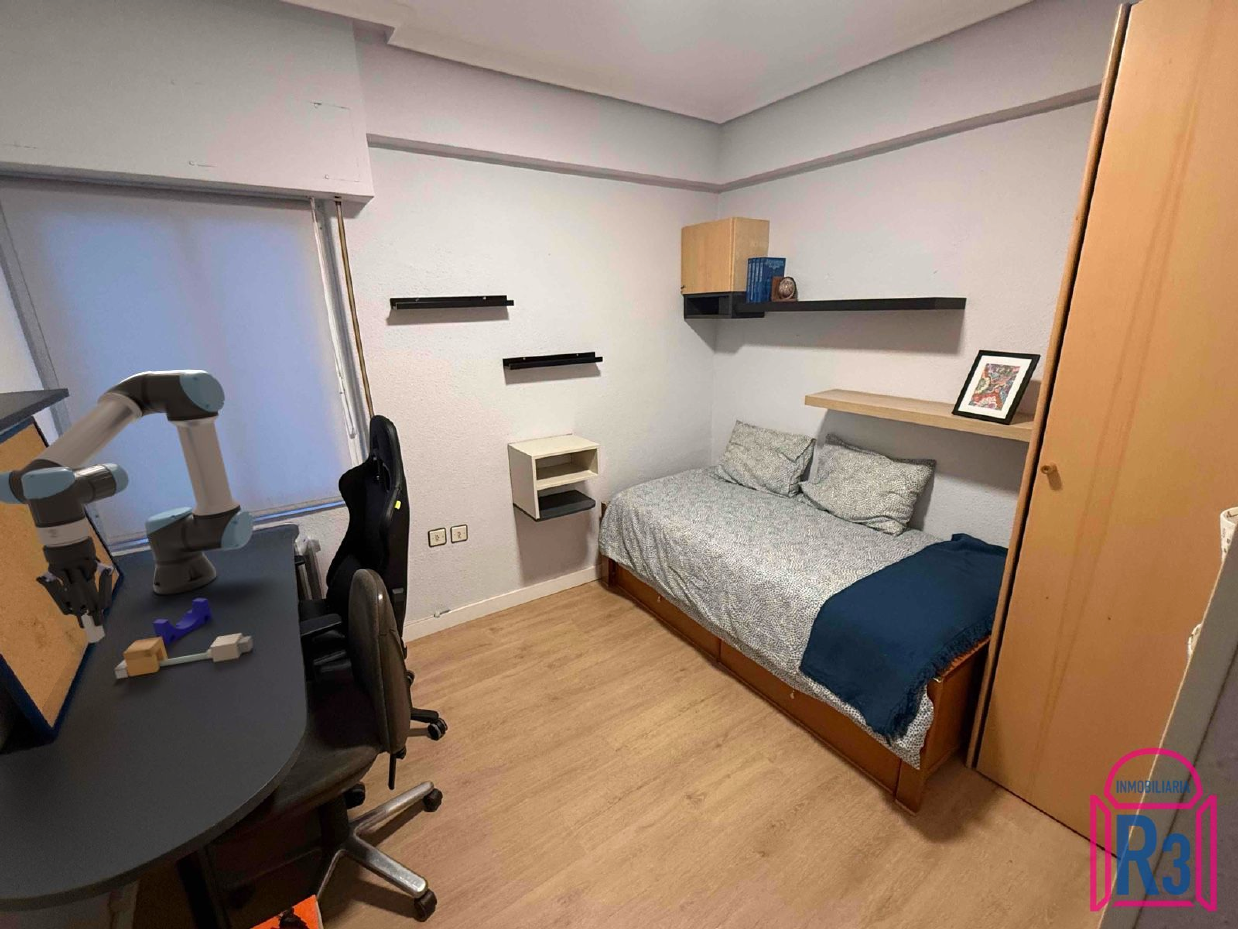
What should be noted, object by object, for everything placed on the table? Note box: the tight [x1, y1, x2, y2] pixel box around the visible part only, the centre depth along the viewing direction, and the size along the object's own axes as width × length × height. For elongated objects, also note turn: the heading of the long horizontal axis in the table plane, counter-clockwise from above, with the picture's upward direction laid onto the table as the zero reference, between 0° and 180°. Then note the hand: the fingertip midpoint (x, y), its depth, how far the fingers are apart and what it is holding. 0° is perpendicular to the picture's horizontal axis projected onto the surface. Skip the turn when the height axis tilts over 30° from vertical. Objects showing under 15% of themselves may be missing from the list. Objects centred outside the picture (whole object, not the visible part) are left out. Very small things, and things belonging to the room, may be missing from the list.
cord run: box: [114, 632, 254, 679], centre depth 124 cm, size 26×5×4 cm, turn 107°
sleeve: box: [122, 636, 169, 677], centre depth 122 cm, size 5×5×6 cm
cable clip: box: [152, 597, 213, 645], centre depth 137 cm, size 12×4×6 cm, turn 170°
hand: (97, 639), depth 118 cm, fingers closed
